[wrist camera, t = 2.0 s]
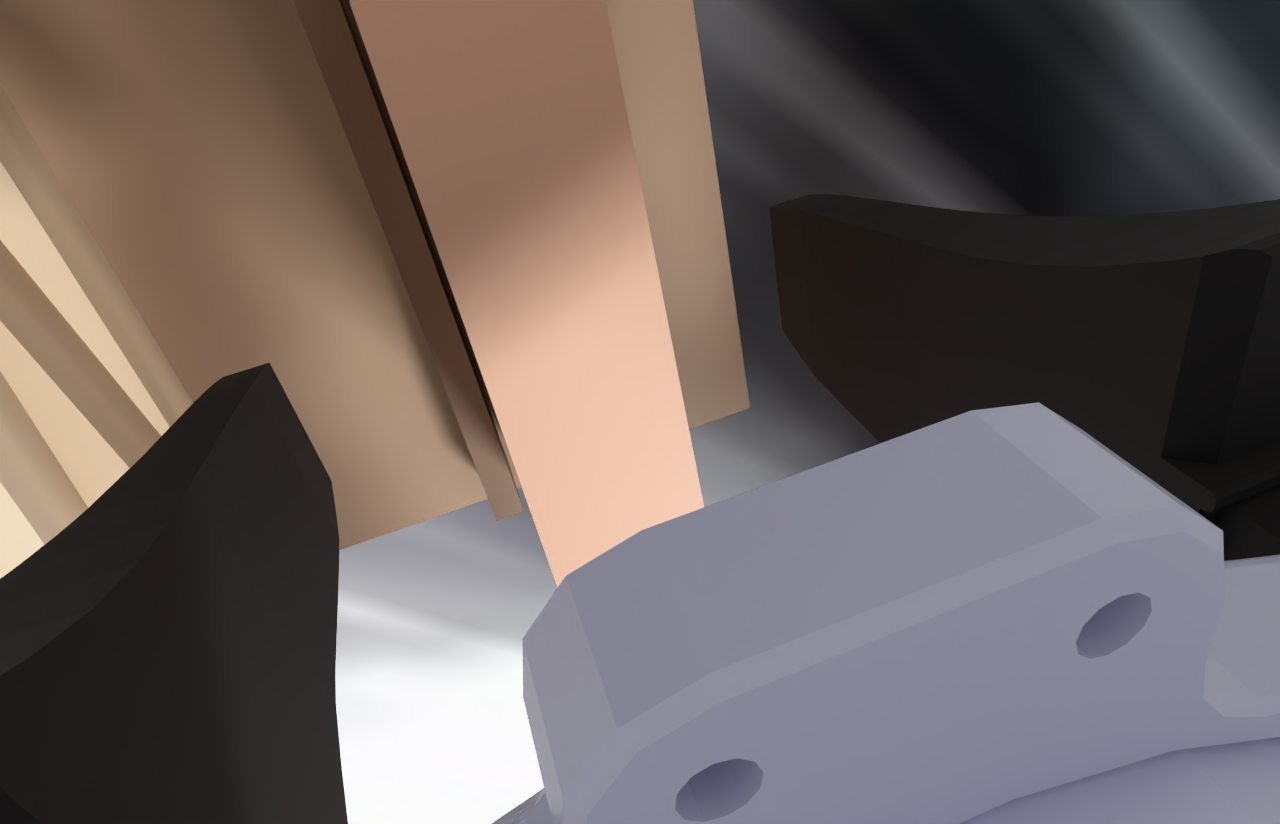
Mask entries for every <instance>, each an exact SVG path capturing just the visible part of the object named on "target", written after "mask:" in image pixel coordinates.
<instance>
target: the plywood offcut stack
mask: <svg viewBox="0 0 1280 824" xmlns="http://www.w3.org/2000/svg"><path fill="white" fill-rule="evenodd" d="M192 404H193V401H192V400H191V398H190V396H189V395H188V393H187V391H186V390H185V388H184V386H183V385H182V383H181V381H180V380H179V378H178V376H177V375H176V373H175V371H174V370H173V368H172V367H171V365H170V363H169V362H168V360H167V358H166V357H165V355H164V353H163V352H162V350H161V348H160V347H159V345H158V343H157V342H156V340H155V338H154V337H153V335H152V333H151V332H150V330H149V329H148V327H147V325H146V324H145V322H144V320H143V319H142V317H141V315H140V314H139V312H138V310H137V309H136V307H135V305H134V304H133V302H132V300H131V299H130V297H129V295H128V294H127V292H126V290H125V289H124V287H123V286H122V284H121V282H120V281H119V279H118V277H117V276H116V274H115V272H114V271H113V269H112V267H111V266H110V264H109V262H108V261H107V259H106V257H105V256H104V254H103V252H102V251H101V249H100V248H99V246H98V244H97V243H96V241H95V239H94V238H93V236H92V234H91V233H90V231H89V229H88V228H87V226H86V224H85V223H84V221H83V219H82V218H81V216H80V214H79V213H78V211H77V210H76V208H75V206H74V205H73V203H72V201H71V200H70V198H69V196H68V195H67V193H66V191H65V190H64V188H63V186H62V185H61V183H60V181H59V180H58V178H57V176H56V175H55V173H54V171H53V170H52V168H51V167H50V165H49V163H48V162H47V160H46V158H45V157H44V155H43V153H42V152H41V150H40V148H39V147H38V145H37V143H36V142H35V140H34V138H33V137H32V135H31V133H30V132H29V130H28V129H27V127H26V125H25V124H24V122H23V120H22V119H21V117H20V115H19V114H18V112H17V110H16V109H15V107H14V105H13V104H12V102H11V100H10V99H9V97H8V95H7V94H6V92H5V91H4V89H3V87H2V86H1V84H0V579H1V578H2V577H3V576H5V575H6V574H8V573H9V572H10V571H12V570H13V569H14V568H16V567H17V566H18V565H20V564H21V563H22V562H23V561H25V560H26V559H27V558H29V557H30V556H31V555H32V554H34V553H35V552H36V551H37V550H39V549H40V548H41V547H42V546H44V545H45V544H46V543H47V542H49V541H50V540H51V539H53V538H54V537H55V536H56V535H58V534H59V533H60V532H61V531H62V530H63V529H65V528H66V527H67V526H68V525H69V524H71V523H72V522H73V521H74V520H75V519H76V518H78V517H79V516H80V515H81V514H82V513H83V512H84V511H85V510H87V509H88V508H89V507H90V506H91V505H92V504H93V503H94V502H95V501H96V500H97V499H98V498H99V497H100V496H101V495H102V494H103V493H105V492H106V491H107V490H108V489H109V488H110V487H111V486H112V485H113V484H114V483H115V482H116V481H117V480H118V479H119V478H120V477H121V476H122V475H123V474H124V473H125V472H126V471H128V470H129V469H130V468H131V467H132V466H133V465H134V464H135V463H136V462H137V461H138V460H139V459H140V458H141V457H142V456H143V455H144V454H145V453H146V452H147V451H148V450H149V449H150V448H151V447H152V446H153V445H154V443H155V442H156V441H157V440H158V439H159V438H160V437H161V436H162V435H163V434H164V433H165V432H166V431H167V430H168V429H169V428H170V427H171V426H172V425H173V424H174V423H175V422H176V421H177V419H178V418H179V417H180V416H181V415H182V414H183V413H184V412H185V411H186V410H187V409H188V408H189V407H190V406H191V405H192Z"/></svg>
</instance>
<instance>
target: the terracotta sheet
mask: <svg viewBox="0 0 1280 824" xmlns="http://www.w3.org/2000/svg"><path fill="white" fill-rule="evenodd" d="M350 5H351V8H352V11H353V14H354V17H355V19H356V22H357V25H358V28H359V31H360V34H361V36H362V39H363V42H364V45H365V48H366V50H367V53H368V56H369V59H370V62H371V64H372V67H373V70H374V73H375V76H376V78H377V81H378V84H379V87H380V90H381V93H382V95H383V98H384V101H385V104H386V107H387V109H388V112H389V115H390V118H391V121H392V123H393V126H394V129H395V132H396V135H397V138H398V140H399V143H400V146H401V149H402V152H403V154H404V157H405V160H406V163H407V166H408V168H409V171H410V174H411V177H412V180H413V182H414V185H415V188H416V191H417V194H418V197H419V199H420V202H421V205H422V208H423V211H424V213H425V216H426V219H427V222H428V225H429V227H430V230H431V233H432V236H433V239H434V241H435V244H436V247H437V250H438V253H439V256H440V258H441V261H442V264H443V267H444V270H445V272H446V275H447V278H448V281H449V284H450V286H451V289H452V292H453V295H454V298H455V301H456V303H457V306H458V309H459V312H460V315H461V317H462V320H463V323H464V326H465V329H466V331H467V334H468V337H469V340H470V343H471V345H472V348H473V351H474V354H475V357H476V360H477V362H478V365H479V368H480V371H481V374H482V376H483V379H484V382H485V385H486V388H487V390H488V393H489V396H490V399H491V402H492V404H493V407H494V410H495V413H496V416H497V419H498V421H499V424H500V427H501V430H502V433H503V435H504V438H505V441H506V444H507V447H508V449H509V452H510V455H511V458H512V461H513V464H514V466H515V469H516V472H517V475H518V478H519V480H520V483H521V486H522V489H523V492H524V494H525V497H526V500H527V503H528V506H529V508H530V511H531V514H532V517H533V520H534V523H535V525H536V528H537V531H538V534H539V537H540V539H541V542H542V545H543V548H544V551H545V553H546V556H547V559H548V562H549V565H550V567H551V570H552V573H553V576H554V579H555V582H556V584H557V587H558V586H559V585H560V584H561V582H562V581H563V579H564V578H565V576H566V575H568V574H570V573H571V572H573V571H575V570H576V569H578V568H580V567H581V566H583V565H585V564H586V563H588V562H590V561H591V560H593V559H595V558H596V557H598V556H599V555H601V554H603V553H604V552H606V551H608V550H609V549H611V548H613V547H614V546H616V545H618V544H619V543H621V542H623V541H624V540H626V539H628V538H629V537H631V536H633V535H634V534H636V533H638V532H639V531H641V530H643V529H646V528H649V527H652V526H654V525H657V524H660V523H663V522H665V521H668V520H671V519H674V518H676V517H679V516H682V515H685V514H688V513H690V512H693V511H696V510H699V509H701V508H704V504H703V498H702V493H701V488H700V483H699V478H698V473H697V468H696V463H695V458H694V452H693V447H692V442H691V437H690V432H689V427H688V422H687V417H686V412H685V406H684V401H683V396H682V391H681V386H680V381H679V376H678V371H677V366H676V360H675V355H674V350H673V345H672V340H671V335H670V330H669V325H668V320H667V314H666V309H665V304H664V299H663V294H662V289H661V284H660V279H659V274H658V268H657V263H656V258H655V253H654V248H653V243H652V238H651V233H650V228H649V222H648V217H647V212H646V207H645V202H644V197H643V192H642V187H641V182H640V176H639V171H638V166H637V161H636V156H635V151H634V146H633V141H632V135H631V130H630V125H629V120H628V115H627V110H626V105H625V100H624V95H623V89H622V84H621V79H620V74H619V69H618V64H617V59H616V54H615V49H614V43H613V38H612V33H611V28H610V23H609V18H608V13H607V8H606V3H605V0H350Z"/></svg>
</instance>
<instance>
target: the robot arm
mask: <svg viewBox="0 0 1280 824" xmlns="http://www.w3.org/2000/svg"><path fill="white" fill-rule="evenodd" d="M770 217H771V226H772V236H773V245H774V255H775V264H776V274H777V283H778V293H779V302H780V312H781V321H782V330H783V331H784V333H785V334H786V336H787V337H788V339H789V340H790V342H791V343H792V345H793V346H794V348H795V349H796V351H797V352H798V354H799V355H800V356H801V358H802V359H803V360H804V362H805V363H806V365H807V366H808V367H809V369H810V370H811V371H812V373H813V374H814V375H815V376H816V377H817V378H818V380H819V381H820V382H821V383H822V384H823V385H824V386H825V387H826V388H827V389H828V390H829V391H830V392H831V393H832V394H833V395H834V396H835V397H836V398H837V399H838V400H839V401H840V402H841V403H842V404H843V406H844V407H845V408H846V409H847V410H848V411H849V412H850V413H851V414H852V415H853V416H854V417H855V418H856V419H857V420H858V421H859V422H860V423H861V424H862V425H863V426H864V427H865V428H866V429H867V430H868V431H869V432H870V433H871V434H872V435H873V436H874V437H875V438H876V439H877V440H878V441H879V442H880V444H878V445H875V446H872V447H869V448H867V449H864V450H861V451H858V452H855V453H853V454H850V455H847V456H844V457H842V458H839V459H836V460H833V461H831V462H828V463H825V464H822V465H820V466H817V467H814V468H811V469H809V470H806V471H803V472H800V473H798V474H795V475H792V476H789V477H787V478H784V479H781V480H778V481H776V482H773V483H770V484H767V485H765V486H762V487H759V488H756V489H754V490H751V491H748V492H745V493H743V494H740V495H737V496H734V497H732V498H729V499H726V500H723V501H721V502H718V503H715V504H712V505H710V506H707V507H704V508H701V509H699V510H696V511H693V512H690V513H688V514H685V515H682V516H679V517H676V518H674V519H671V520H668V521H665V522H663V523H660V524H657V525H654V526H652V527H649V528H646V529H643V530H641V531H639V532H638V533H636V534H634V535H633V536H631V537H629V538H628V539H626V540H624V541H623V542H621V543H619V544H618V545H616V546H614V547H613V548H611V549H609V550H608V551H606V552H604V553H603V554H601V555H599V556H598V557H596V558H595V559H593V560H591V561H590V562H588V563H586V564H585V565H583V566H581V567H580V568H578V569H576V570H575V571H573V572H571V573H570V574H568V575H566V576H565V578H564V579H563V581H562V582H561V584H560V585H559V586H558V588H557V589H556V591H555V592H554V594H553V595H552V597H551V598H550V600H549V601H548V602H547V604H546V605H545V607H544V608H543V610H542V611H541V613H540V614H539V616H538V617H537V619H536V620H535V621H534V623H533V624H532V626H531V627H530V629H529V630H528V632H527V633H526V635H525V636H524V637H523V697H524V702H525V706H526V710H527V715H528V719H529V723H530V727H531V732H532V736H533V740H534V744H535V749H536V753H537V757H538V762H539V766H540V770H541V774H542V779H543V783H544V787H545V788H544V789H542V790H541V791H539V792H538V793H536V794H535V795H533V796H532V797H531V798H529V799H528V800H526V801H525V802H523V803H522V804H520V805H519V806H517V807H516V808H514V809H513V810H511V811H510V812H508V813H507V814H505V815H504V816H502V817H501V818H500V819H498V820H497V821H495V822H494V823H492V824H1280V199H1278V200H1271V201H1264V202H1256V203H1248V204H1241V205H1233V206H1225V207H1217V208H1209V209H1199V210H1189V211H1179V212H1167V213H1151V214H1134V215H1117V216H1084V217H1074V216H1023V215H1004V214H992V213H981V212H970V211H959V210H950V209H941V208H933V207H925V206H918V205H910V204H903V203H896V202H889V201H882V200H874V199H867V198H859V197H851V196H841V195H828V194H815V195H806V196H803V197H800V198H797V199H793V200H790V201H787V202H784V203H780V204H777V205H774V206H771V207H770ZM338 574H339V532H338V524H337V515H336V508H335V501H334V494H333V488H332V481H331V479H330V477H329V475H328V473H327V471H326V469H325V467H324V465H323V463H322V462H321V460H320V458H319V456H318V454H317V452H316V450H315V448H314V446H313V444H312V443H311V441H310V439H309V437H308V435H307V433H306V431H305V429H304V427H303V425H302V423H301V422H300V420H299V418H298V416H297V414H296V412H295V410H294V408H293V406H292V404H291V403H290V401H289V399H288V397H287V395H286V393H285V391H284V389H283V387H282V385H281V384H280V382H279V380H278V378H277V376H276V374H275V372H274V370H273V368H272V366H271V364H270V363H266V364H263V365H260V366H257V367H253V368H250V369H247V370H244V371H240V372H237V373H234V374H231V375H228V376H224V377H222V378H221V379H219V380H218V381H217V382H215V383H214V384H213V385H212V386H210V387H209V388H208V389H207V390H206V391H205V392H204V393H203V394H202V395H201V396H200V397H199V398H198V399H197V400H196V401H195V402H194V403H193V404H192V405H191V406H190V407H189V408H188V409H187V410H186V411H185V412H184V413H183V414H182V415H181V416H180V417H179V418H178V419H177V421H176V422H175V423H174V424H173V425H172V426H171V427H170V428H169V429H168V430H167V431H166V432H165V433H164V434H163V435H162V436H161V437H160V438H159V439H158V440H157V441H156V442H155V443H154V445H153V446H152V447H151V448H150V449H149V450H148V451H147V452H146V453H145V454H144V455H143V456H142V457H141V458H140V459H139V460H138V461H137V462H136V463H135V464H134V465H133V466H132V467H131V468H130V469H129V470H128V471H126V472H125V473H124V474H123V475H122V476H121V477H120V478H119V479H118V480H117V481H116V482H115V483H114V484H113V485H112V486H111V487H110V488H109V489H108V490H107V491H106V492H105V493H103V494H102V495H101V496H100V497H99V498H98V499H97V500H96V501H95V502H94V503H93V504H92V505H91V506H90V507H89V508H88V509H87V510H85V511H84V512H83V513H82V514H81V515H80V516H79V517H78V518H76V519H75V520H74V521H73V522H72V523H71V524H69V525H68V526H67V527H66V528H65V529H63V530H62V531H61V532H60V533H59V534H58V535H56V536H55V537H54V538H53V539H51V540H50V541H49V542H47V543H46V544H45V545H44V546H42V547H41V548H40V549H39V550H37V551H36V552H35V553H34V554H32V555H31V556H30V557H29V558H27V559H26V560H25V561H23V562H22V563H21V564H20V565H18V566H17V567H16V568H14V569H13V570H12V571H10V572H9V573H8V574H6V575H5V576H3V577H2V578H1V579H0V824H348V822H347V813H346V805H345V796H344V787H343V778H342V770H341V759H340V748H339V737H338V726H337V715H336V701H335V660H336V632H337V605H338Z"/></svg>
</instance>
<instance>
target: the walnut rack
mask: <svg viewBox="0 0 1280 824" xmlns="http://www.w3.org/2000/svg"><path fill="white" fill-rule="evenodd" d="M605 3H606V8H607V13H608V18H609V23H610V28H611V33H612V38H613V43H614V49H615V54H616V59H617V64H618V69H619V74H620V79H621V84H622V89H623V95H624V100H625V105H626V110H627V115H628V120H629V125H630V130H631V135H632V141H633V146H634V151H635V156H636V161H637V166H638V171H639V176H640V182H641V187H642V192H643V197H644V202H645V207H646V212H647V217H648V222H649V228H650V233H651V238H652V243H653V248H654V253H655V258H656V263H657V268H658V274H659V279H660V284H661V289H662V294H663V299H664V304H665V309H666V314H667V320H668V325H669V330H670V335H671V340H672V345H673V350H674V355H675V360H676V366H677V371H678V376H679V381H680V386H681V391H682V396H683V401H684V406H685V412H686V417H687V422H688V427H689V429H691V428H694V427H697V426H700V425H703V424H706V423H709V422H712V421H714V420H717V419H720V418H723V417H726V416H729V415H732V414H735V413H738V412H740V411H743V410H746V409H749V408H750V403H749V396H748V389H747V382H746V374H745V367H744V360H743V353H742V346H741V339H740V332H739V325H738V318H737V311H736V303H735V296H734V289H733V282H732V275H731V268H730V261H729V254H728V247H727V239H726V232H725V225H724V218H723V211H722V204H721V197H720V190H719V183H718V176H717V168H716V161H715V154H714V147H713V140H712V133H711V126H710V119H709V112H708V104H707V97H706V90H705V83H704V76H703V69H702V62H701V55H700V48H699V41H698V33H697V26H696V19H695V12H694V5H693V0H605ZM0 84H1V86H2V87H3V89H4V91H5V92H6V94H7V95H8V97H9V99H10V100H11V102H12V104H13V105H14V107H15V109H16V110H17V112H18V114H19V115H20V117H21V119H22V120H23V122H24V124H25V125H26V127H27V129H28V130H29V132H30V133H31V135H32V137H33V138H34V140H35V142H36V143H37V145H38V147H39V148H40V150H41V152H42V153H43V155H44V157H45V158H46V160H47V162H48V163H49V165H50V167H51V168H52V170H53V171H54V173H55V175H56V176H57V178H58V180H59V181H60V183H61V185H62V186H63V188H64V190H65V191H66V193H67V195H68V196H69V198H70V200H71V201H72V203H73V205H74V206H75V208H76V210H77V211H78V213H79V214H80V216H81V218H82V219H83V221H84V223H85V224H86V226H87V228H88V229H89V231H90V233H91V234H92V236H93V238H94V239H95V241H96V243H97V244H98V246H99V248H100V249H101V251H102V252H103V254H104V256H105V257H106V259H107V261H108V262H109V264H110V266H111V267H112V269H113V271H114V272H115V274H116V276H117V277H118V279H119V281H120V282H121V284H122V286H123V287H124V289H125V290H126V292H127V294H128V295H129V297H130V299H131V300H132V302H133V304H134V305H135V307H136V309H137V310H138V312H139V314H140V315H141V317H142V319H143V320H144V322H145V324H146V325H147V327H148V329H149V330H150V332H151V333H152V335H153V337H154V338H155V340H156V342H157V343H158V345H159V347H160V348H161V350H162V352H163V353H164V355H165V357H166V358H167V360H168V362H169V363H170V365H171V367H172V368H173V370H174V371H175V373H176V375H177V376H178V378H179V380H180V381H181V383H182V385H183V386H184V388H185V390H186V391H187V393H188V395H189V396H190V398H191V400H192V401H193V403H194V402H195V401H196V400H197V399H198V398H199V397H200V396H201V395H202V394H203V393H204V392H205V391H206V390H207V389H208V388H209V387H210V386H212V385H213V384H214V383H215V382H217V381H218V380H219V379H221V378H222V377H224V376H228V375H231V374H234V373H237V372H240V371H244V370H247V369H250V368H253V367H257V366H260V365H263V364H266V363H270V364H271V366H272V368H273V370H274V372H275V374H276V376H277V378H278V380H279V382H280V384H281V385H282V387H283V389H284V391H285V393H286V395H287V397H288V399H289V401H290V403H291V404H292V406H293V408H294V410H295V412H296V414H297V416H298V418H299V420H300V422H301V423H302V425H303V427H304V429H305V431H306V433H307V435H308V437H309V439H310V441H311V443H312V444H313V446H314V448H315V450H316V452H317V454H318V456H319V458H320V460H321V462H322V463H323V465H324V467H325V469H326V471H327V473H328V475H329V477H330V479H331V481H332V488H333V494H334V501H335V508H336V515H337V524H338V532H339V550H341V549H344V548H346V547H349V546H352V545H355V544H358V543H361V542H364V541H367V540H370V539H373V538H375V537H378V536H381V535H384V534H387V533H390V532H393V531H396V530H399V529H402V528H404V527H407V526H410V525H413V524H416V523H419V522H422V521H425V520H428V519H430V518H433V517H436V516H439V515H442V514H445V513H448V512H451V511H454V510H457V509H459V508H462V507H465V506H468V505H471V504H474V503H477V502H480V501H483V500H486V499H488V500H489V503H490V505H491V508H492V510H493V513H494V516H495V518H496V521H498V520H501V519H504V518H507V517H509V516H512V515H515V514H518V513H521V512H524V510H523V507H522V503H521V500H520V497H519V493H518V490H517V488H520V487H522V486H521V483H520V480H519V478H518V475H517V472H516V469H515V466H514V464H513V461H512V458H511V455H510V452H509V449H508V447H507V444H506V441H505V438H504V435H503V433H502V430H501V427H500V424H499V421H498V419H497V416H496V413H495V410H494V407H493V404H492V402H491V399H490V396H489V393H488V390H487V388H486V385H485V382H484V379H483V376H482V374H481V371H480V368H479V365H478V362H477V360H476V357H475V354H474V351H473V348H472V345H471V343H470V340H469V337H468V334H467V331H466V329H465V326H464V323H463V320H462V317H461V315H460V312H459V309H458V306H457V303H456V301H455V298H454V295H453V292H452V289H451V286H450V284H449V281H448V278H447V275H446V272H445V270H444V267H443V264H442V261H441V258H440V256H439V253H438V250H437V247H436V244H435V241H434V239H433V236H432V233H431V230H430V227H429V225H428V222H427V219H426V216H425V213H424V211H423V208H422V205H421V202H420V199H419V197H418V194H417V191H416V188H415V185H414V182H413V180H412V177H411V174H410V171H409V168H408V166H407V163H406V160H405V157H404V154H403V152H402V149H401V146H400V143H399V140H398V138H397V135H396V132H395V129H394V126H393V123H392V121H391V118H390V115H389V112H388V109H387V107H386V104H385V101H384V98H383V95H382V93H381V90H380V87H379V84H378V81H377V78H376V76H375V73H374V70H373V67H372V64H371V62H370V59H369V56H368V53H367V50H366V48H365V45H364V42H363V39H362V36H361V34H360V31H359V28H358V25H357V22H356V19H355V17H354V14H353V11H352V8H351V5H350V0H0Z"/></svg>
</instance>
